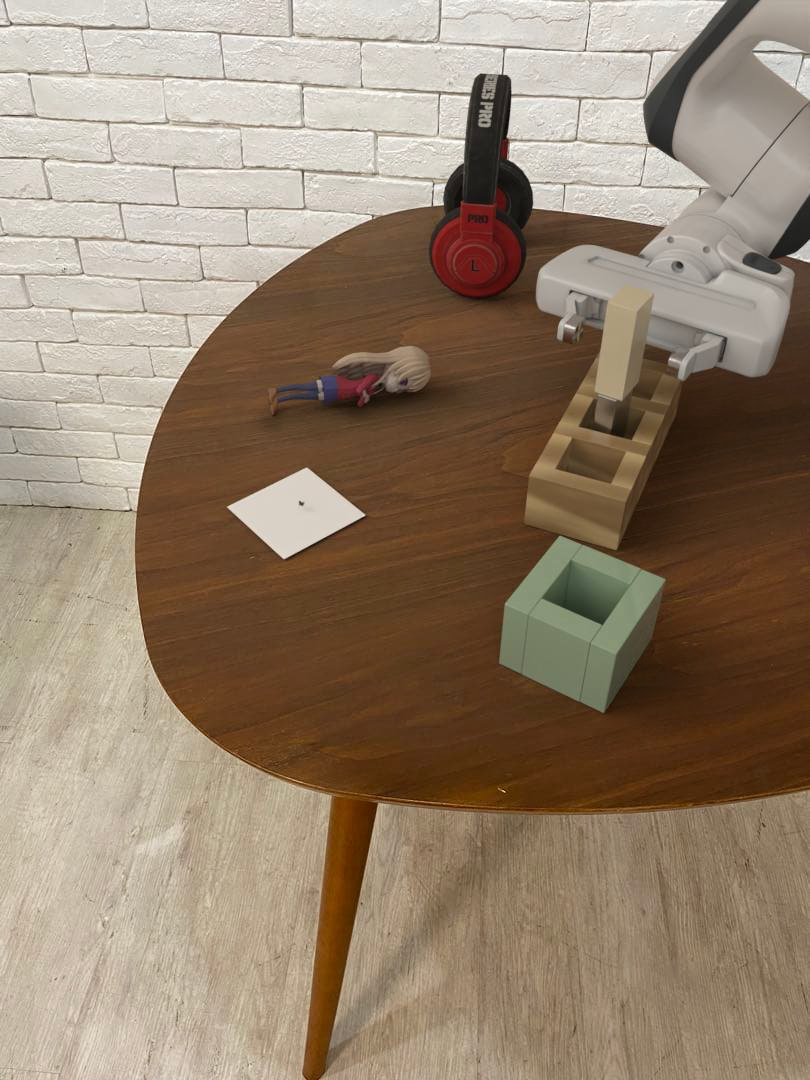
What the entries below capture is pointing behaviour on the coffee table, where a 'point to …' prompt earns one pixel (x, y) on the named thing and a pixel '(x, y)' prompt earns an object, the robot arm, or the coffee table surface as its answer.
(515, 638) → the holder
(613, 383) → the knife
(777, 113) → the robot arm
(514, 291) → the coffee table surface
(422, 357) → the figurine
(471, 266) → the headphones
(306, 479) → the white flat sheet
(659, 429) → the rack
